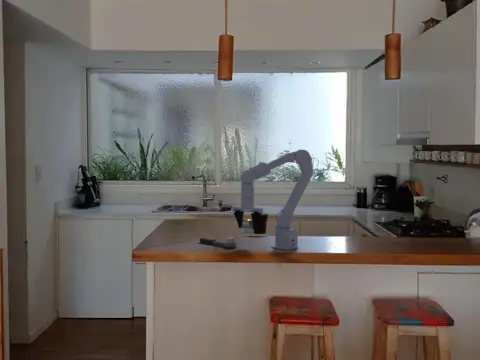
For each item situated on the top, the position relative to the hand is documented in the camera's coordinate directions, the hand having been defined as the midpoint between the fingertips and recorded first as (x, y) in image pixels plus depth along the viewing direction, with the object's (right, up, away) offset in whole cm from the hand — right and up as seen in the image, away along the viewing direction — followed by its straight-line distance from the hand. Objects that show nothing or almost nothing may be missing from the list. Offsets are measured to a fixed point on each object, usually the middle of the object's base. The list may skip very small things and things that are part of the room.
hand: (247, 228), depth 241 cm
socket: (0, -2, 0) cm, 2 cm away
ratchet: (-13, -8, +5) cm, 16 cm away
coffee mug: (+8, -6, +42) cm, 44 cm away
